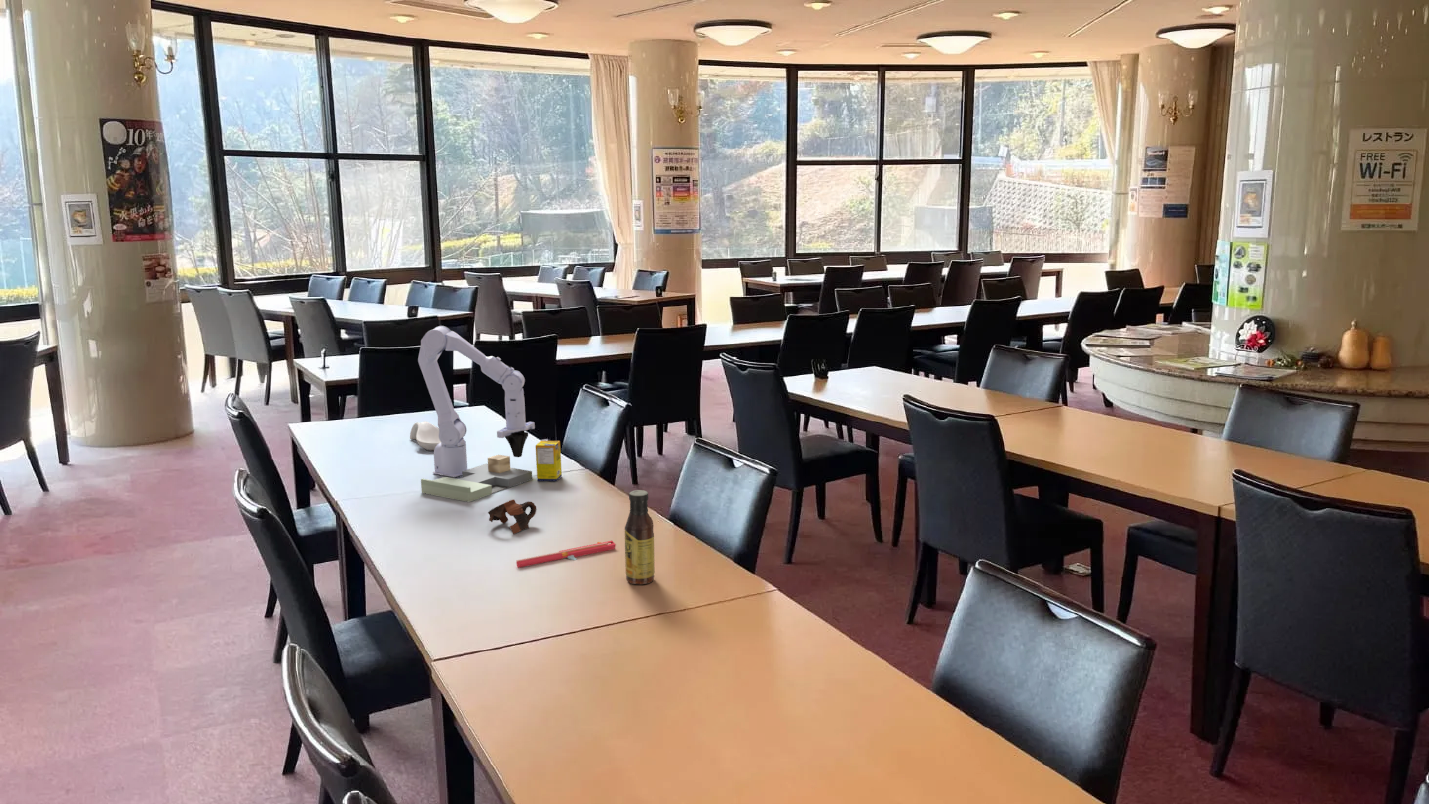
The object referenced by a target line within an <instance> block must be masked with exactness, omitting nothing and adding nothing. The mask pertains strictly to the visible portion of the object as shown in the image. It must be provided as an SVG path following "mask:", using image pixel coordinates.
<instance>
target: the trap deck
mask: <svg viewBox="0 0 1429 804" xmlns="http://www.w3.org/2000/svg"><path fill="white" fill-rule="evenodd" d="M467 469H468V470H465V471H462V475H461V476H462V477H461V478H455V477H450V476H444V477H440V478H436V479H434V480H433V479H427V478H421V479H420V486H421V494H425V493H426V495H430V494H431V496H437V497H441V498H446V499H451V500H456V501H462V502H465V503H466V502H467V503H470V502H472V501H476V500H478V499H479V500H480V499H482V498H484V497H487V496H490V495H492V494H495V493H498V492H500V491H504V490H506V489H509V488H512V487H515V486H518V485H520V484H523V482H524V483H527V482H529V481H532V480H533V471H532V470H527V469H523V468H522V469H520V468H515V467H510V470H508V471H505V472H502V473H496V472H490V471H488V463H484V464H481V465H478V466H474V467H471V468H467Z"/></svg>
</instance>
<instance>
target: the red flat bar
mask: <svg viewBox="0 0 1429 804" xmlns="http://www.w3.org/2000/svg"><path fill="white" fill-rule="evenodd" d="M616 546H617V544H616V543H615V542H614V541H613V540H608V541H603V542H601V541H597V543H594V544H589V545H588V544H587V545H583V546H579V547H574V548H568V549H563V550H559V551H557V552H551V553H547V554H541V555H538V556H531V557H527V558H522V559H516V562H515V564H516V567H517V568H518V569H519V568H523V567H530V566H534V565H539V564H543V563H549V562H554V561H559V560H563V559H566V558H567V559H568V560H572V561H577V560H578V559H577V557H582V556H586V555H591V554H597V553H601V552H606V551H607V552H608V551H611V550H615V549H616Z"/></svg>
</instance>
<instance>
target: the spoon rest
mask: <svg viewBox="0 0 1429 804" xmlns="http://www.w3.org/2000/svg"><path fill="white" fill-rule="evenodd" d="M409 439H410V440H416V442H417V443H418V445H419V446H420V447H421V448H423V449H425V450H427V451H434V449H435V447H436V446H437V445H438V444H439V443H441V441H440V439H439V427H438V426H435V425H434V424H432V423H430V421H429V422H428V421H422V422H416V421H415V422H414V424H413V425H412V427H411V430H410V433H409Z"/></svg>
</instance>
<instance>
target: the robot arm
mask: <svg viewBox="0 0 1429 804" xmlns="http://www.w3.org/2000/svg"><path fill="white" fill-rule="evenodd" d="M444 350H445V351H447V352H451V351H452V352H458V353H460V354H462V355H463V356H465V357H466V358H467V359H469V360H471V361H472V362H474V363H476V364H477V365H479V366H480V371H481V372H482V373H483V374H484V375H486V376H487V377H489V378H490V379H491V380H493V381H494V382H496V383H497V384H500V385H501V386H502V387H501V388H502V389H503V390H504V408H505V409H504V411H505V427H503V428H502V429H500V430H497V431H496V437H497V438H499V439H506V441H507V442H508V444H509V447H510V449H511V452H512V455H513V457H514V458H521V457H522V456H523V450H524V446H525V444H526V440H527V439H528V436H529V432H526V431H528V430H535V428H536V425H535V422H534V421H528V422H526V406H525V405H526V404H525V395H524V394H525V391H524V388H523V387H524V385H525V382H526V379H525V377H524V375H523V374H522V373H521V371H519V370H515V368H514V367H512V366H509V365H507V364H505V363H504V362H503V361H501V360H502V359H501V358H500V357H499V356H497V357H495V356H493V355H490V356H486V355H485V353H483V352H482V351H481V350H479V349H477V347H476V346H474V345H473V344H471V343H470V342H468V341H467V340H466V339H465V338H463V337H462V336H461V335H459V334H458V333H457V332H456V331H453V330H451V329H450V328H449V327H447V326H444V325H439V326H436V327H434V328H433V329H430V330H428V331H427V332H425V334H424V335H423V337H422V338H421V340H420V347H419V353H418V358H417V362H418V365H419V368H420V370H421V373H422V375H423V379H424V381H425V384H426V388H427V390H428V393H429V395H430V398H431V401H432V404H433V407H434V409H435V412H436V415H437V427H438V428H439V439H440V441H441V443H439V444H438V445H437V446H436V447H435V449H434V450H433V461H434V462H433V463H434V464H433V465H434V471H433V472H432V474H434V475H441V476H444V477H449V478H458V477H461V476H463V475H462V471H465V470H468V469H469V468H468V460H467V458H468V457H467V444H466V439H464V437H465V436H466V434H467V431H468V430H467V426H466V424H465V423H464V421H462V419H461V418H460V415H459V414H458V413H457V412H456V410H455V408H454V405H453V402H452V399H451V397H450V393H449V391H448V388H447V386H446V383H445V380H444V377H443V374H442V371H441V369H440V366H439V363H438V359H439V358H440V356H441V355H442V353H443V351H444Z"/></svg>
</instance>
